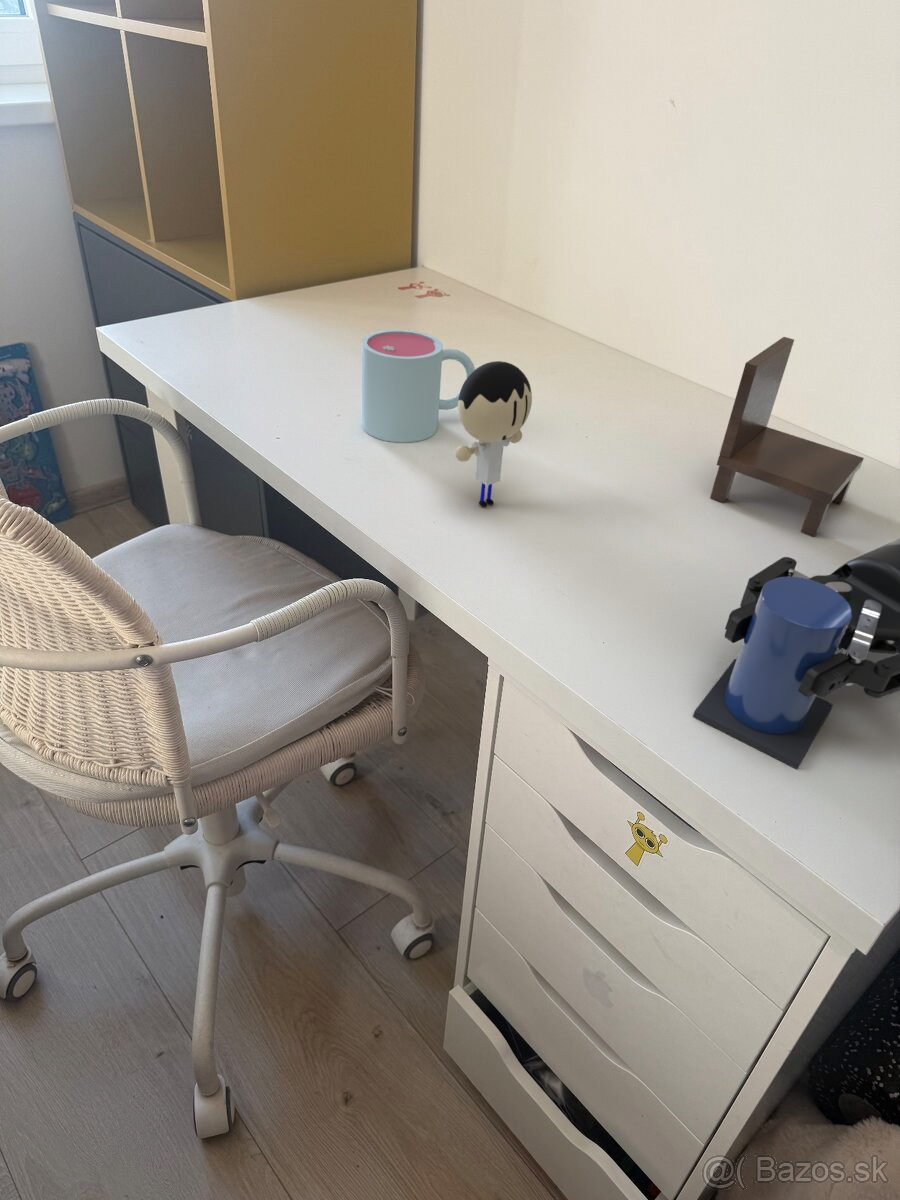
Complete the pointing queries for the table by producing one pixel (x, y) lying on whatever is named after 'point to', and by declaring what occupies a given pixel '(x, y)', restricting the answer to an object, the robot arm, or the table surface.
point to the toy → (492, 417)
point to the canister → (784, 652)
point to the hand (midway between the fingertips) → (767, 656)
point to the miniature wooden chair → (779, 444)
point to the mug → (404, 384)
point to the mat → (777, 746)
